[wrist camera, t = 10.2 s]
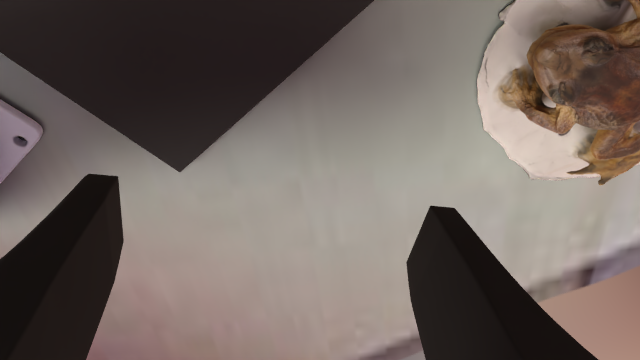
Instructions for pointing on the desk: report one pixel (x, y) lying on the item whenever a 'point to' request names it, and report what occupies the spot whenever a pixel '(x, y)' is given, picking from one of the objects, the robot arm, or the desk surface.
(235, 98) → the mat
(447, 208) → the robot arm
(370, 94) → the desk surface
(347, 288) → the desk surface
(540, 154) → the roast chicken plate
